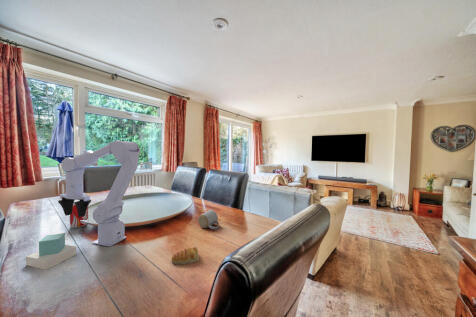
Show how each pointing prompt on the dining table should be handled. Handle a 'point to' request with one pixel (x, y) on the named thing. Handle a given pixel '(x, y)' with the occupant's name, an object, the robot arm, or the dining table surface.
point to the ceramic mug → (208, 219)
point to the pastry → (186, 256)
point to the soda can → (77, 218)
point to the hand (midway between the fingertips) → (75, 215)
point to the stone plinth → (50, 258)
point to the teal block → (51, 244)
